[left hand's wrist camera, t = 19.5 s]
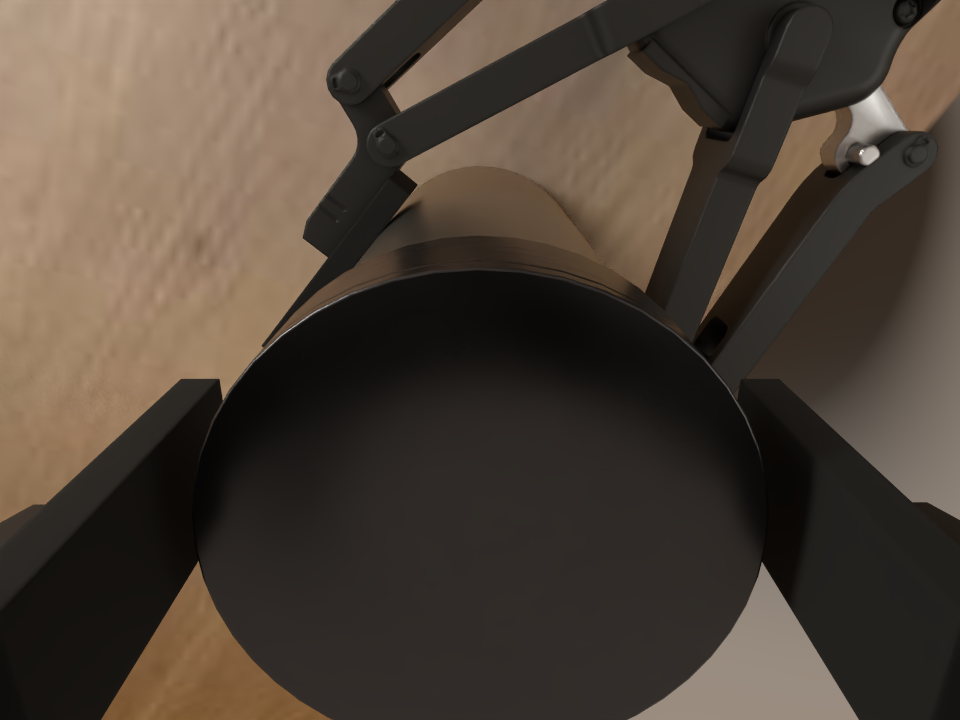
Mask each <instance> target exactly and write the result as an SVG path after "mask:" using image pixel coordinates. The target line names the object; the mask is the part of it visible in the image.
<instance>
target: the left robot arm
mask: <svg viewBox="0 0 960 720" xmlns="http://www.w3.org/2000/svg"><path fill="white" fill-rule="evenodd" d="M737 401H738V402H739V404H740V406H741V407H742V409H743V411H744V413H745V414H746V416H747V418H748V421H749V423H750V426H751V428H752V431H753V433H754V436H755V438H756V441H757V443H758V446H759V449H760V453H761V457H762V462H763V466H764V471H765V475H766V480H767V493H768V509H769V516H768V527H767V538H766V547H765V551H764V555H763V559H762V562H763V564H764V566H765V567H766V569H767V570H768V572H769V574H770V575H771V577H772V579H773V580H774V582H775V584H776V585H777V587H778V588H779V590H780V592H781V593H782V595H783V597H784V598H785V600H786V601H787V603H788V605H789V606H790V608H791V610H792V611H793V613H794V615H795V616H796V618H797V619H798V621H799V623H800V624H801V626H802V628H803V629H804V631H805V632H806V634H807V636H808V637H809V639H810V641H811V642H812V644H813V645H814V647H815V649H816V650H817V652H818V654H819V655H820V657H821V658H822V660H823V662H824V663H825V665H826V667H827V668H828V670H829V671H830V673H831V675H832V676H833V678H834V680H835V681H836V683H837V685H838V686H839V688H840V689H841V691H842V693H843V694H844V696H845V698H846V699H847V701H848V702H849V704H850V706H851V707H852V709H853V711H854V712H855V714H856V715H857V717H858V719H859V720H960V520H958V519H957V518H955V517H953V516H951V515H949V514H947V513H946V512H944V511H942V510H940V509H938V508H936V507H935V506H933V505H931V504H929V503H927V502H911V501H910V500H909V499H908V498H907V497H906V496H905V495H904V494H903V493H901V492H900V491H899V490H898V489H897V488H896V487H895V486H894V485H893V484H892V483H891V482H890V481H888V480H887V479H886V478H885V477H884V476H883V475H882V474H881V473H880V472H879V471H878V470H877V469H876V468H874V467H873V466H872V465H871V464H870V463H869V462H868V461H867V460H866V459H865V458H864V457H863V456H861V455H860V454H859V453H858V452H857V451H856V450H855V449H854V448H853V447H852V446H851V445H850V444H849V443H847V442H846V441H845V440H844V439H843V438H842V437H841V436H840V435H839V434H838V433H837V432H836V431H834V430H833V429H832V428H831V427H830V426H829V425H828V424H827V423H826V422H825V421H824V420H823V419H822V418H820V417H819V416H818V415H817V414H816V413H815V412H814V411H813V410H812V409H811V408H810V407H809V406H807V405H806V404H805V403H804V402H803V401H802V400H801V399H800V398H799V397H798V396H797V395H796V394H794V393H793V392H792V391H791V390H790V389H789V388H788V387H787V386H786V385H785V384H784V383H783V382H782V381H781V380H779V379H741V380H740V386H739V393H738V400H737ZM222 402H223V400H222V393H221V386H220V380H219V379H181V380H179V381H178V382H177V383H176V384H175V385H174V386H173V387H172V388H171V389H170V390H169V391H168V392H167V393H165V394H164V395H163V396H162V397H161V398H160V399H159V400H158V401H157V402H156V403H155V404H154V405H153V406H151V407H150V408H149V409H148V410H147V411H146V412H145V413H144V414H143V415H142V416H141V417H140V418H138V419H137V420H136V421H135V422H134V423H133V424H132V425H131V426H130V427H129V428H128V429H127V430H126V431H124V432H123V433H122V434H121V435H120V436H119V437H118V438H117V439H116V440H115V441H114V442H113V443H111V444H110V445H109V446H108V447H107V448H106V449H105V450H104V451H103V452H102V453H101V454H100V455H99V456H97V457H96V458H95V459H94V460H93V461H92V462H91V463H90V464H89V465H88V466H87V467H86V468H84V469H83V470H82V471H81V472H80V473H79V474H78V475H77V476H76V477H75V478H74V479H73V480H72V481H70V482H69V483H68V484H67V485H66V486H65V487H64V488H63V489H62V490H61V491H60V492H59V493H57V494H56V495H55V496H54V497H53V498H52V499H51V500H50V501H49V502H48V503H47V504H46V505H32V506H30V507H28V508H27V509H25V510H23V511H21V512H19V513H17V514H16V515H14V516H12V517H10V518H8V519H6V520H5V521H3V522H1V523H0V720H101V719H102V717H103V715H104V714H105V712H106V711H107V709H108V707H109V706H110V704H111V702H112V701H113V699H114V698H115V696H116V694H117V693H118V691H119V689H120V688H121V686H122V685H123V683H124V681H125V680H126V678H127V676H128V675H129V673H130V672H131V670H132V668H133V667H134V665H135V663H136V662H137V660H138V658H139V657H140V655H141V654H142V652H143V650H144V649H145V647H146V645H147V644H148V642H149V641H150V639H151V637H152V636H153V634H154V632H155V631H156V629H157V628H158V626H159V624H160V623H161V621H162V619H163V618H164V616H165V615H166V613H167V611H168V610H169V608H170V606H171V605H172V603H173V601H174V600H175V598H176V597H177V595H178V593H179V592H180V590H181V588H182V587H183V585H184V584H185V582H186V580H187V579H188V577H189V575H190V574H191V572H192V571H193V569H194V567H195V566H196V564H197V562H198V561H199V560H198V556H197V553H196V548H195V539H194V530H193V521H192V508H193V485H194V480H195V475H196V470H197V465H198V460H199V455H200V451H201V449H202V446H203V443H204V441H205V438H206V435H207V433H208V430H209V427H210V425H211V422H212V420H213V418H214V416H215V414H216V413H217V411H218V409H219V407H220V406H221V404H222Z"/></svg>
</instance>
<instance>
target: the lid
mask: <svg viewBox="0 0 960 720" xmlns="http://www.w3.org/2000/svg"><path fill="white" fill-rule="evenodd" d="M768 516H769V509H768V493H767V480H766V475H765V471H764V466H763V462H762V457H761V453H760V449H759V446H758V443H757V441H756V438H755V436H754V433H753V431H752V428H751V426H750V423H749V421H748V418H747V416H746V414H745V413H744V411H743V409H742V407H741V406H740V404H739V402H738V401H737V399H736V398H735V396H734V394H733V392H732V391H731V389H730V387H729V386H728V384H727V383H726V382H725V381H724V380H723V378H722V377H721V376H720V375H719V373H718V372H717V371H716V370H715V369H714V367H713V366H712V365H711V364H710V363H709V361H708V360H707V359H706V358H705V357H704V355H703V354H702V353H701V352H700V351H699V350H698V349H697V347H696V346H695V345H694V344H693V343H692V342H691V341H690V340H689V338H688V337H687V336H686V335H685V334H684V333H683V332H682V330H681V329H680V328H679V327H678V326H677V325H676V324H675V323H674V321H673V320H672V319H671V318H670V317H669V316H668V315H667V313H666V312H665V311H664V310H663V309H662V308H661V307H659V306H658V305H657V304H656V303H655V302H654V301H653V300H652V299H651V298H649V297H648V296H647V295H646V294H645V293H644V292H643V291H642V290H641V289H639V288H638V287H636V286H635V285H633V284H632V283H630V282H629V281H628V280H626V279H625V278H623V277H622V276H620V275H619V274H617V273H616V272H614V271H613V270H611V269H609V268H607V267H605V266H603V265H601V264H599V263H597V262H595V261H592V260H590V259H588V258H586V257H584V256H582V255H580V254H577V253H574V252H571V251H568V250H565V249H562V248H559V247H556V246H553V245H549V244H545V243H540V242H535V241H529V240H524V239H519V238H513V237H496V236H464V237H451V238H441V239H436V240H431V241H426V242H421V243H417V244H412V245H407V246H405V247H402V248H399V249H396V250H393V251H390V252H387V253H385V254H382V255H379V256H376V257H374V258H372V259H370V260H368V261H366V262H364V263H362V264H360V265H358V266H356V267H354V268H352V269H350V270H348V271H346V272H345V273H343V274H342V275H340V276H339V277H337V278H336V279H335V280H333V281H332V282H330V283H329V284H327V285H326V286H325V287H323V288H322V289H320V290H319V291H317V292H316V293H315V294H314V295H313V296H312V297H311V298H310V299H309V300H308V301H307V302H306V303H305V304H304V305H303V306H301V307H300V308H299V309H298V310H297V311H296V312H295V313H294V314H293V315H292V316H291V317H290V319H289V320H288V321H287V322H286V323H285V324H284V325H283V326H282V328H281V329H280V330H279V331H278V332H277V333H276V334H275V336H274V337H273V338H272V339H271V340H270V341H269V342H268V344H267V345H266V346H265V347H264V348H263V349H262V350H261V352H260V353H259V354H258V355H257V356H256V357H255V358H254V359H253V361H252V362H251V363H250V364H249V366H248V367H247V368H246V369H245V371H244V372H243V373H242V374H241V376H240V377H239V378H238V380H237V381H236V382H235V383H234V385H233V386H232V387H231V388H230V390H229V392H228V393H227V395H226V397H225V399H224V400H223V402H222V404H221V406H220V407H219V409H218V411H217V413H216V414H215V416H214V418H213V420H212V422H211V425H210V427H209V430H208V433H207V435H206V438H205V441H204V443H203V446H202V449H201V451H200V455H199V460H198V465H197V470H196V475H195V480H194V485H193V508H192V521H193V530H194V539H195V548H196V553H197V556H198V560H199V564H200V567H201V571H202V575H203V579H204V581H205V584H206V586H207V588H208V591H209V593H210V595H211V598H212V600H213V602H214V604H215V607H216V609H217V611H218V612H219V614H220V616H221V617H222V619H223V620H224V622H225V624H226V625H227V627H228V629H229V630H230V632H231V634H232V635H233V636H234V638H235V639H236V640H237V641H238V643H239V644H240V645H241V646H242V648H243V649H244V650H245V651H246V653H247V654H248V655H249V656H250V657H251V659H252V660H253V661H254V662H255V663H256V664H257V665H258V666H259V667H260V668H261V669H262V670H263V671H265V672H266V673H267V674H268V675H269V676H270V677H271V678H272V679H273V680H274V681H275V682H276V683H277V684H279V685H280V686H281V687H283V688H284V689H285V690H287V691H288V692H289V693H291V694H292V695H293V696H295V697H296V698H297V699H299V700H300V701H301V702H303V703H305V704H306V705H308V706H310V707H311V708H313V709H315V710H316V711H318V712H320V713H321V714H323V715H325V716H326V717H328V718H331V719H333V720H628V719H630V718H632V717H634V716H636V715H638V714H639V713H641V712H643V711H644V710H646V709H648V708H649V707H651V706H652V705H654V704H656V703H657V702H659V701H661V700H662V699H664V698H665V697H666V696H668V695H669V694H670V693H671V692H673V691H674V690H675V689H677V688H678V687H679V686H680V685H682V684H683V683H684V682H686V681H687V680H688V679H689V678H690V677H691V676H692V675H693V674H694V673H695V672H696V671H697V670H698V669H699V668H700V667H701V666H702V665H703V664H704V663H705V662H706V661H707V660H708V659H709V658H710V657H711V656H712V655H713V654H714V652H715V651H716V650H717V648H718V647H719V646H720V645H721V643H722V642H723V641H724V640H725V638H726V637H727V636H728V634H729V633H730V632H731V630H732V628H733V627H734V625H735V623H736V622H737V620H738V618H739V617H740V615H741V613H742V611H743V610H744V608H745V606H746V604H747V602H748V600H749V597H750V595H751V592H752V590H753V587H754V585H755V583H756V580H757V578H758V575H759V571H760V567H761V563H762V559H763V555H764V551H765V547H766V538H767V527H768Z"/></svg>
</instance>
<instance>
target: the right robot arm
mask: <svg viewBox="0 0 960 720" xmlns="http://www.w3.org/2000/svg"><path fill="white" fill-rule="evenodd" d="M481 1H482V0H397V1H395V2H394V3H393V4H392V5H391V6H390V7H389V8H388V9H387V10H386V11H385V12H384V13H383V14H382V15H381V16H380V17H379V18H378V19H377V20H376V21H375V22H374V23H373V24H372V25H371V26H370V27H369V28H368V29H367V30H366V31H365V32H364V33H363V34H362V35H361V36H360V37H359V38H358V39H357V40H356V41H355V42H354V43H353V44H352V45H351V46H350V47H349V48H348V49H347V50H346V51H345V52H344V53H343V54H342V55H341V56H340V57H339V58H337V59H336V60H335V61H334V62H333V64H332V65H331V67H330V68H329V70H328V73H327V79H326V80H327V86H328V90H329V91H330V93H331V95H332V96H333V98H335V99H336V100H337V101H338V102H339V103H340V104H341V106H342V107H343V109H344V111H345V112H346V114H347V116H348V117H349V119H350V120H351V122H352V124H353V126H354V128H355V130H356V133H357V138H358V144H357V149H356V152H355V154H354V156H353V158H352V159H351V161H350V162H349V163H348V165H347V166H346V168H345V169H344V170H343V172H342V173H341V174H340V176H339V177H338V178H337V180H336V181H335V183H334V184H333V185H332V187H331V188H330V189H329V191H328V192H327V194H326V195H325V196H324V198H323V199H322V200H321V202H320V203H319V205H318V206H317V207H316V209H315V210H314V211H313V213H312V214H311V215H310V217H309V218H308V220H307V221H306V226H305V230H304V235H303V239H305V240H306V241H307V242H309V243H310V244H311V245H313V246H314V247H315V248H316V249H318V250H319V251H320V252H322V253H323V254H324V255H326V256H327V257H328V259H327V260H326V261H325V263H324V264H323V265H322V267H321V268H320V269H319V271H318V272H317V273H316V275H315V276H314V277H313V279H312V280H311V281H310V283H309V284H308V285H307V287H306V288H305V289H304V290H303V292H302V293H301V294H300V296H299V297H298V298H297V300H296V301H295V302H294V304H293V305H292V306H291V308H290V309H289V310H288V312H287V313H286V314H285V316H284V317H283V318H282V320H281V321H280V322H279V324H278V325H277V326H276V328H275V329H274V330H273V331H272V333H271V334H270V335H269V337H268V338H267V339H266V341H265V342H264V343H263V345H262V347H265V346H266V345H267V344H268V342H269V341H270V340H271V339H272V338H273V337H274V336H275V334H276V333H277V332H278V331H279V330H280V329H281V328H282V326H283V325H284V324H285V323H286V322H287V321H288V320H289V319H290V317H291V316H292V315H293V314H294V313H295V312H296V311H297V310H298V309H299V308H300V307H301V306H303V305H304V304H305V303H306V302H307V301H308V300H309V299H310V298H311V297H312V296H313V295H314V294H315V293H316V292H317V291H319V290H320V289H322V288H323V287H325V286H326V285H327V284H329V283H330V282H332V281H333V280H335V279H336V278H337V277H339V276H340V275H342V274H343V273H345V272H346V271H348V270H350V269H352V268H354V267H355V265H356V264H357V263H358V262H359V260H360V259H361V258H362V256H363V255H364V254H365V253H366V251H367V250H368V249H369V247H370V246H371V245H372V244H373V242H374V241H375V240H376V238H377V237H378V236H379V235H380V233H381V232H382V231H383V229H384V228H385V227H386V225H387V224H388V223H389V222H390V220H391V219H392V218H393V216H394V215H395V214H396V213H397V211H398V210H399V209H400V207H401V206H402V205H403V204H404V202H405V201H406V200H407V198H408V197H409V196H410V194H411V193H412V192H413V190H414V189H415V188H416V186H417V184H416V183H415V182H414V181H413V180H411V179H410V178H409V177H408V176H407V175H405V174H404V173H403V172H402V171H400V169H401V167H402V166H403V165H404V164H405V162H406V161H408V160H410V159H412V158H414V157H415V156H417V155H419V154H421V153H423V152H425V151H427V150H429V149H431V148H433V147H434V146H436V145H438V144H440V143H442V142H444V141H446V140H448V139H450V138H452V137H454V136H455V135H457V134H459V133H461V132H463V131H465V130H467V129H469V128H471V127H473V126H474V125H476V124H478V123H480V122H482V121H484V120H486V119H488V118H490V117H492V116H494V115H495V114H497V113H499V112H501V111H503V110H505V109H507V108H509V107H511V106H513V105H515V104H516V103H518V102H520V101H522V100H524V99H526V98H528V97H530V96H532V95H534V94H535V93H537V92H539V91H541V90H543V89H545V88H547V87H549V86H551V85H553V84H555V83H556V82H558V81H560V80H562V79H564V78H566V77H568V76H570V75H572V74H574V73H575V72H577V71H579V70H581V69H583V68H585V67H587V66H589V65H591V64H593V63H595V62H596V61H598V60H600V59H602V58H604V57H606V56H608V55H610V54H612V53H614V52H616V51H618V50H620V49H622V48H624V47H626V46H627V47H628V49H629V51H630V53H629V54H628V55H627V56H628V57H629V58H630V59H631V60H632V61H633V62H634V63H635V64H636V65H637V66H638V67H639V68H640V69H641V70H642V71H643V72H644V73H645V74H647V75H649V76H651V77H653V78H655V79H657V80H659V81H661V82H663V83H665V84H666V85H668V86H669V87H670V88H671V90H672V92H673V94H674V96H675V97H676V99H677V101H678V103H679V104H680V106H681V108H682V110H683V111H684V112H686V113H687V114H688V115H689V116H690V117H691V118H692V119H693V120H694V121H695V122H696V123H697V124H698V125H699V126H702V130H701V133H700V135H699V138H698V141H697V143H696V146H695V149H694V153H693V167H692V170H691V173H690V175H689V178H688V181H687V183H686V186H685V189H684V191H683V194H682V197H681V199H680V202H679V205H678V207H677V210H676V213H675V215H674V218H673V220H672V223H671V226H670V228H669V231H668V234H667V236H666V239H665V242H664V244H663V247H662V250H661V252H660V255H659V258H658V260H657V263H656V265H655V268H654V271H653V273H652V276H651V279H650V281H649V284H648V287H647V289H646V292H645V294H646V295H647V296H648V297H649V298H651V299H652V300H653V301H654V302H655V303H656V304H657V305H658V306H659V307H661V308H662V309H663V310H664V311H665V312H666V313H667V315H668V316H669V317H670V318H671V319H672V320H673V321H674V323H675V324H676V325H677V326H678V327H679V328H680V329H681V330H682V332H683V333H684V334H685V335H686V336H687V337H688V338H689V340H690V341H691V342H692V343H693V344H694V345H695V346H696V347H697V349H698V350H699V351H700V352H701V353H702V354H703V355H704V357H705V358H706V359H707V360H708V361H709V363H710V364H711V365H712V366H713V367H714V369H715V370H716V371H717V372H718V373H719V375H720V376H721V377H722V378H723V380H724V381H725V382H726V383H727V384H728V386H729V387H730V389H731V391H732V392H733V394H734V393H735V391H736V390H737V389H738V387H739V386H740V380H741V379H745V378H746V377H747V376H748V374H749V373H750V372H751V370H752V369H753V368H754V366H755V365H756V364H757V362H758V361H759V360H760V358H761V357H762V356H763V355H764V353H765V352H766V351H767V349H768V348H769V347H770V345H771V344H772V343H773V341H774V340H775V339H776V337H777V336H778V335H779V334H780V332H781V331H782V330H783V328H784V327H785V326H786V324H787V323H788V322H789V320H790V319H791V318H792V316H793V315H794V314H795V312H796V311H797V310H798V309H799V307H800V306H801V304H802V303H803V302H804V301H805V299H806V298H807V297H808V295H809V294H810V293H811V291H812V290H813V289H814V287H815V286H816V285H817V284H818V282H819V281H820V279H821V278H822V277H823V276H824V274H825V273H826V272H827V270H828V269H829V268H830V266H831V265H832V264H833V262H834V261H835V260H836V259H837V257H838V256H839V255H840V253H841V252H842V251H843V249H844V248H845V247H846V245H847V244H848V243H849V241H850V240H851V239H852V238H853V236H854V235H855V234H856V232H857V231H858V230H859V228H860V227H861V226H862V224H863V223H864V222H865V220H866V219H867V218H868V216H869V215H870V214H871V213H872V211H873V210H874V209H875V208H877V207H878V206H879V205H881V204H882V203H884V202H885V201H886V200H888V199H889V198H890V197H892V196H893V195H894V194H896V193H897V192H898V191H900V190H901V189H903V188H904V187H905V186H907V185H908V184H909V183H911V182H912V181H913V180H915V179H916V178H917V177H919V176H920V175H921V174H923V173H924V172H926V171H927V170H928V169H929V168H930V167H931V166H932V165H933V163H934V161H935V159H936V157H937V153H938V145H937V141H936V139H935V138H934V137H933V136H932V135H931V134H929V133H926V132H922V131H909V130H908V129H907V128H906V126H905V125H904V123H903V121H902V120H901V118H900V116H899V115H898V113H897V111H896V110H895V108H894V106H893V105H892V103H891V101H890V100H889V98H888V96H887V95H886V93H885V91H884V90H883V88H882V86H881V84H882V82H883V81H884V80H885V78H886V76H887V74H888V72H889V69H890V66H891V63H892V61H893V58H894V55H895V53H896V51H897V49H898V47H899V45H900V43H901V42H902V40H903V39H904V37H905V35H906V34H907V33H908V32H909V30H910V29H911V28H912V27H913V26H914V25H915V24H916V23H917V22H918V21H919V20H920V19H922V18H923V17H924V16H925V15H926V14H927V13H928V12H929V11H930V10H931V9H932V8H933V7H934V6H936V5H937V4H938V3H939V2H940V1H941V0H607V1H605V2H603V3H601V4H599V5H598V6H596V7H594V8H592V9H591V10H589V11H587V12H586V13H584V14H582V15H580V16H579V17H577V18H575V19H573V20H571V21H569V22H567V23H566V24H564V25H562V26H560V27H558V28H556V29H555V30H553V31H551V32H549V33H547V34H545V35H543V36H542V37H540V38H538V39H536V40H534V41H532V42H530V43H529V44H527V45H525V46H523V47H521V48H519V49H517V50H516V51H514V52H512V53H510V54H508V55H506V56H504V57H503V58H501V59H499V60H497V61H495V62H493V63H491V64H490V65H488V66H486V67H484V68H482V69H480V70H478V71H477V72H475V73H473V74H471V75H469V76H467V77H465V78H464V79H462V80H460V81H458V82H456V83H454V84H452V85H451V86H449V87H447V88H445V89H443V90H441V91H439V92H438V93H436V94H434V95H432V96H430V97H428V98H426V99H425V100H423V101H421V102H419V103H417V104H415V105H413V106H412V107H410V108H408V109H406V110H404V111H402V112H400V110H399V108H398V106H397V105H396V103H395V101H394V100H393V98H392V96H391V95H390V93H389V91H388V89H389V88H390V87H391V86H392V85H393V84H394V83H395V82H396V81H397V80H398V79H400V78H401V77H402V76H403V75H404V74H405V73H406V72H407V71H408V70H409V69H410V68H411V67H412V66H413V65H414V64H415V63H416V62H418V61H419V60H420V59H421V58H422V57H423V56H424V55H425V54H426V53H427V52H428V51H429V50H430V49H431V48H432V47H433V46H434V45H436V44H437V43H438V42H439V41H440V40H441V39H442V38H443V37H444V36H445V35H446V34H447V33H448V32H449V31H450V30H451V29H452V28H454V27H455V26H456V25H457V24H458V23H459V22H460V21H461V20H462V19H463V18H464V17H465V16H466V15H467V14H468V13H469V12H470V11H471V10H473V9H474V8H475V7H476V6H477V5H478V4H479V3H480V2H481ZM834 110H835V112H836V117H837V121H836V126H835V129H834V131H833V133H832V134H831V135H830V136H829V138H828V139H827V140H826V141H825V143H824V144H823V145H822V146H821V148H820V155H821V161H822V164H820V165H819V166H818V167H817V168H816V169H815V170H814V171H813V172H812V173H811V174H810V175H809V176H808V177H807V178H806V179H805V180H804V181H803V182H802V184H801V185H800V186H799V187H798V189H797V190H796V191H795V192H794V194H793V195H792V196H791V198H790V199H789V201H788V202H787V203H786V205H785V206H784V208H783V209H782V211H781V212H780V213H779V215H778V216H777V218H776V219H775V220H774V222H773V223H772V225H771V226H770V227H769V229H768V230H767V232H766V233H765V234H764V236H763V237H762V239H761V240H760V241H759V243H758V244H757V246H756V247H755V248H754V250H753V251H752V253H751V254H750V255H749V257H748V258H747V260H746V261H745V262H744V264H743V265H742V267H741V268H740V269H739V271H738V272H737V274H736V275H735V276H734V278H733V279H732V281H731V282H730V284H729V285H728V286H727V288H726V289H725V291H724V292H723V293H722V295H721V296H720V298H719V299H718V300H717V302H716V303H715V305H714V306H713V307H712V309H711V310H710V312H709V313H708V314H707V316H706V317H705V319H704V320H703V321H702V323H701V320H702V318H703V315H704V313H705V310H706V308H707V306H708V303H709V301H710V298H711V296H712V294H713V291H714V289H715V286H716V284H717V282H718V279H719V277H720V274H721V272H722V269H723V267H724V265H725V262H726V260H727V257H728V255H729V253H730V250H731V248H732V245H733V243H734V241H735V238H736V236H737V233H738V231H739V229H740V226H741V224H742V221H743V219H744V216H745V214H746V212H747V209H748V207H749V204H750V202H751V200H752V197H753V195H754V192H755V190H756V188H757V186H758V185H759V183H760V182H761V181H763V180H764V179H765V178H766V177H767V176H768V174H769V173H770V171H771V170H772V168H773V166H774V163H775V161H776V158H777V156H778V154H779V151H780V149H781V147H782V144H783V142H784V139H785V137H786V135H787V132H788V130H789V127H790V125H791V123H792V121H796V120H799V119H803V118H807V117H811V116H815V115H818V114H822V113H826V112H830V111H834ZM700 323H701V324H700ZM699 325H700V326H699Z"/></svg>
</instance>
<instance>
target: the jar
mask: <svg viewBox="0 0 960 720" xmlns="http://www.w3.org/2000/svg"><path fill="white" fill-rule="evenodd" d="M464 236H496V237H513V238H519V239H524V240H529V241H535V242H540V243H545V244H549V245H553V246H556V247H559V248H562V249H565V250H568V251H571V252H574V253H577V254H580V255H582V256H584V257H586V258H588V259H590V260H592V261H595V262H597V263H599V264H601V265H603V266H605V265H604V264H603V262H602V261H601V260H600V258H599V257H598V256H597V254H596V253H595V252H594V251H593V249H592V248H591V247H590V245H589V244H588V243H587V241H586V240H585V239H584V237H583V236H582V235H581V233H580V232H579V231H578V230H577V228H576V227H575V226H574V224H573V223H572V222H571V220H570V219H569V218H568V216H567V215H566V214H565V213H564V211H563V210H562V209H561V207H560V206H559V205H558V204H557V202H556V201H555V200H554V199H553V198H552V197H551V196H550V195H549V194H548V193H547V192H546V191H545V190H544V189H542V188H541V187H540V186H539V185H537V184H536V183H534V182H532V181H531V180H529V179H528V178H526V177H523V176H521V175H519V174H517V173H514V172H511V171H508V170H504V169H500V168H493V167H467V168H461V169H457V170H453V171H449V172H446V173H444V174H441V175H439V176H437V177H435V178H433V179H431V180H430V181H428V182H426V183H425V184H423V185H422V186H421V187H419V188H418V189H417V190H415V191H414V192H413V193H412V194H411V195H410V196H409V197H408V198H407V200H406V201H405V202H404V204H403V205H402V206H401V207H400V209H399V210H398V211H397V213H396V214H395V215H394V216H393V218H392V219H391V220H390V222H389V223H388V224H387V225H386V227H385V228H384V229H383V231H382V232H381V233H380V235H379V236H378V237H377V238H376V240H375V241H374V242H373V244H372V245H371V246H370V248H369V249H368V250H367V252H366V253H365V254H364V256H363V257H362V258H361V259H360V261H359V262H358V263H357V265H356V266H358V265H360V264H362V263H364V262H366V261H368V260H370V259H372V258H374V257H376V256H379V255H382V254H385V253H387V252H390V251H393V250H396V249H399V248H402V247H405V246H407V245H412V244H417V243H421V242H426V241H431V240H436V239H441V238H451V237H464ZM356 266H355V267H356ZM605 267H606V266H605Z"/></svg>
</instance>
